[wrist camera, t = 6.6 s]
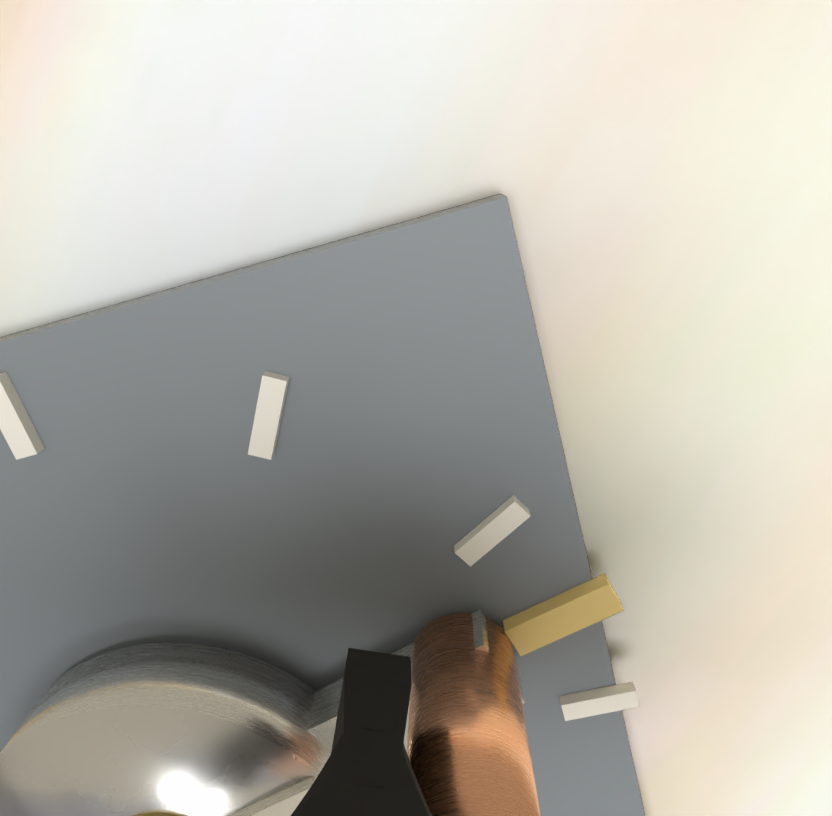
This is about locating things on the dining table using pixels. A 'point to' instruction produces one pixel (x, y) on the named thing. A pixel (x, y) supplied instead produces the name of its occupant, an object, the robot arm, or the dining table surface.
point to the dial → (263, 732)
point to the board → (312, 483)
